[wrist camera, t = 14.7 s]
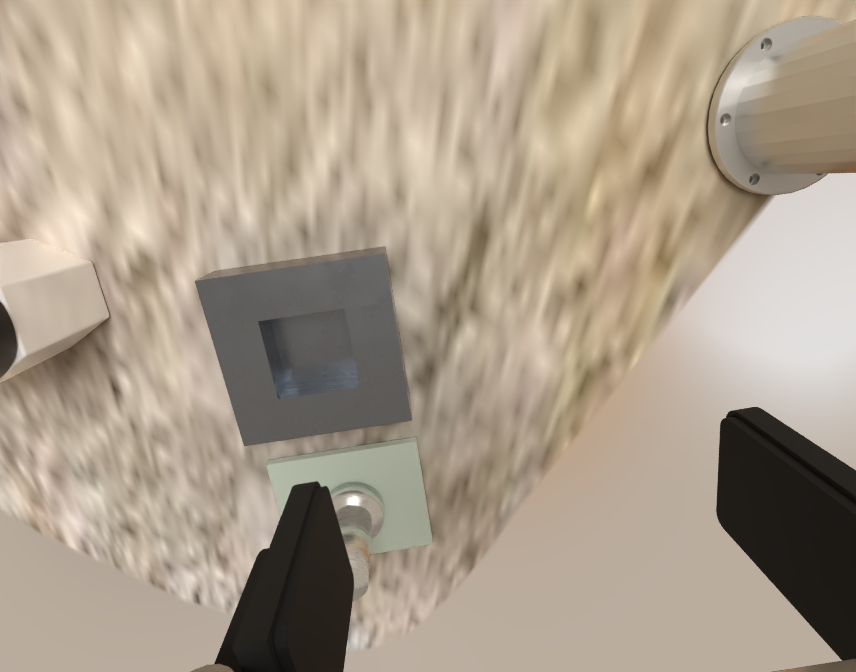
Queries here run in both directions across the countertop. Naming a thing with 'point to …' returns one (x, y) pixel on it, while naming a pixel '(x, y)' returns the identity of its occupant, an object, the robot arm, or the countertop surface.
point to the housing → (308, 345)
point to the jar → (44, 303)
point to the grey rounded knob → (358, 526)
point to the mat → (376, 466)
